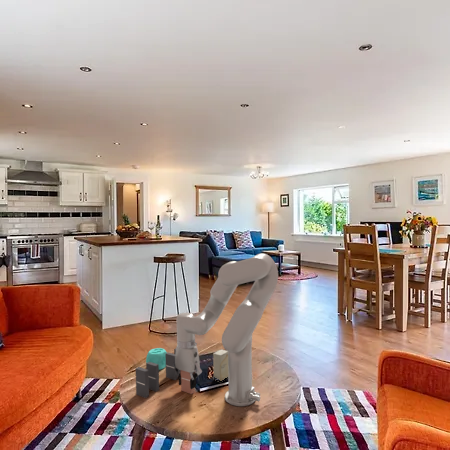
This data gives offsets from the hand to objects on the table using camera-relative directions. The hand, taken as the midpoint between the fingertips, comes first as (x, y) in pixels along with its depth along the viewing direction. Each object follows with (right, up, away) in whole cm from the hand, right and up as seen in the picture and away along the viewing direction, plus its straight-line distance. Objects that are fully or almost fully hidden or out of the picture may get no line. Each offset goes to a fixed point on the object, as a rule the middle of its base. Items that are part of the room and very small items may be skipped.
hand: (187, 385), depth 145 cm
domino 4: (-5, -2, +18) cm, 19 cm away
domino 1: (-18, -3, -2) cm, 19 cm away
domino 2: (-15, -3, +3) cm, 16 cm away
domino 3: (-9, -2, +13) cm, 16 cm away
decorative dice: (-18, -3, +25) cm, 30 cm away
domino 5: (0, -3, 0) cm, 3 cm away
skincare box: (+14, -2, +11) cm, 18 cm away
